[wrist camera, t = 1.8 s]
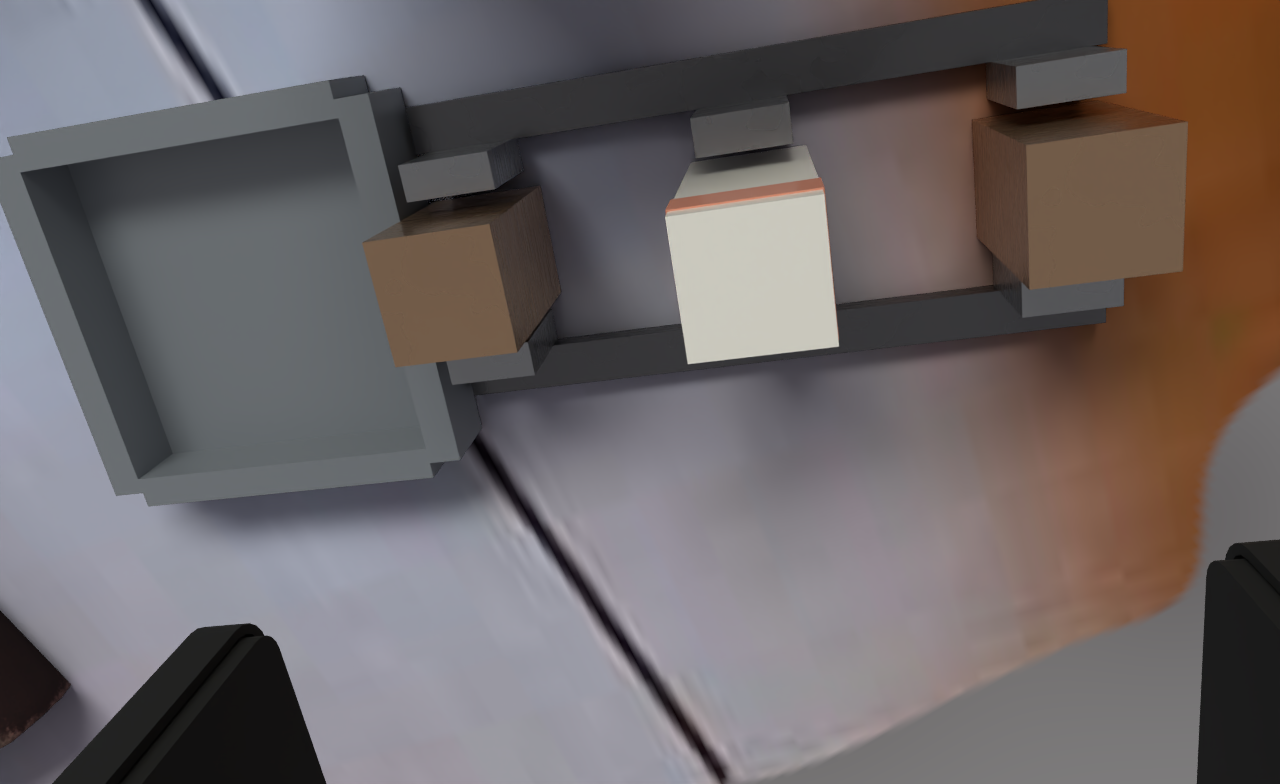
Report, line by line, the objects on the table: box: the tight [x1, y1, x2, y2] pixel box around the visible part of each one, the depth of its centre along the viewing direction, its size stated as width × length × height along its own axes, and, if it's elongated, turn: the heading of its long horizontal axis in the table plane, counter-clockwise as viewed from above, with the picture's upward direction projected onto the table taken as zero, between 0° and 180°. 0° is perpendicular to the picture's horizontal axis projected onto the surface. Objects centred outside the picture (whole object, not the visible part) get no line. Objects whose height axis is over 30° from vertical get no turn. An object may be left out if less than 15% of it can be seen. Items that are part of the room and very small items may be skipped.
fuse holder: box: [362, 0, 1188, 395], centre depth 30 cm, size 23×11×7 cm, turn 99°
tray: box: [0, 75, 482, 506], centre depth 36 cm, size 14×14×3 cm
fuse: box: [665, 145, 839, 364], centre depth 29 cm, size 4×4×10 cm
